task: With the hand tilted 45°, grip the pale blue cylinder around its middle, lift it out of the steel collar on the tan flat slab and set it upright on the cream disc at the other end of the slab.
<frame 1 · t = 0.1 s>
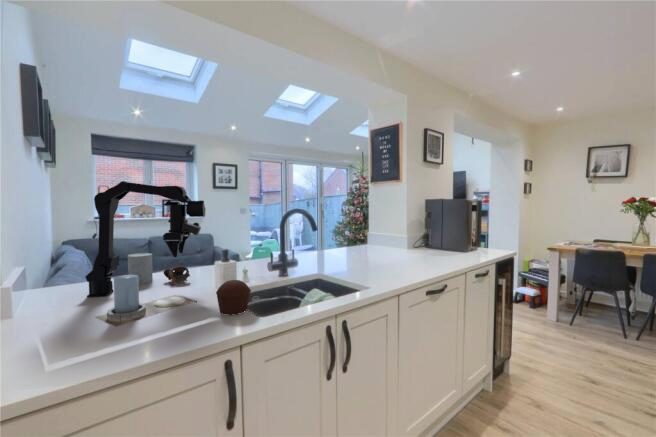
hand: (178, 255, 123), 15 cm above the counter, tool pointing down, fingers open, 9 cm apart
muffin: (233, 310, 102), on the counter
pottery mug: (176, 282, 137), on the counter
pale blue cylinder: (127, 315, 94), point 1 cm above the counter, touching tan flat slab
tall grey pillar block: (140, 281, 137), on the counter
tan flat slab: (149, 311, 101), on the counter
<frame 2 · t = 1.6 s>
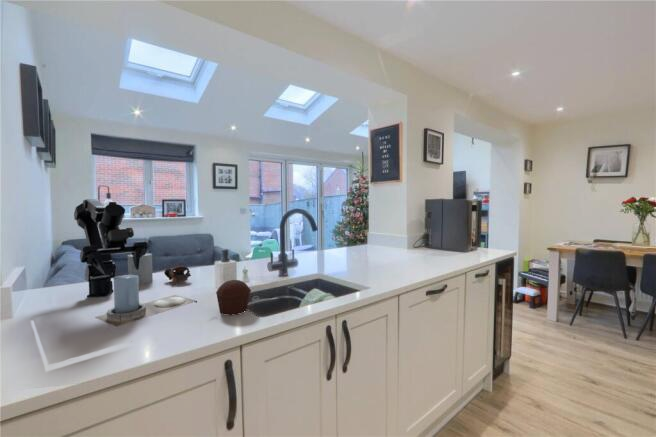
hand: (122, 271, 100), 13 cm above the counter, tool tilted 45°, fingers open, 9 cm apart
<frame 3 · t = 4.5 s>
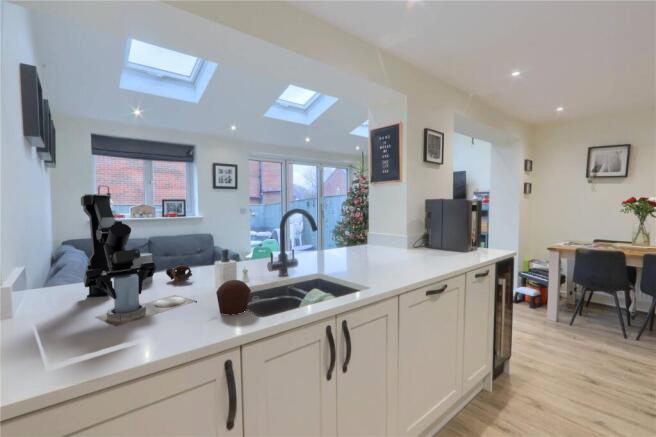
hand: (128, 296, 93), 7 cm above the counter, tool tilted 45°, fingers closed on pale blue cylinder, 6 cm apart
pale blue cylinder: (127, 315, 94), point 1 cm above the counter, touching gripper, tan flat slab
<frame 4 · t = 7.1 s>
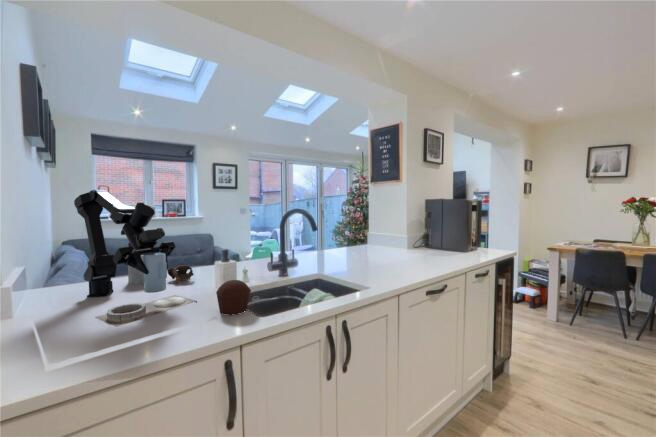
hand: (157, 271, 100), 13 cm above the counter, tool tilted 45°, fingers closed on pale blue cylinder, 6 cm apart
pale blue cylinder: (155, 289, 101), point 7 cm above the counter, touching gripper
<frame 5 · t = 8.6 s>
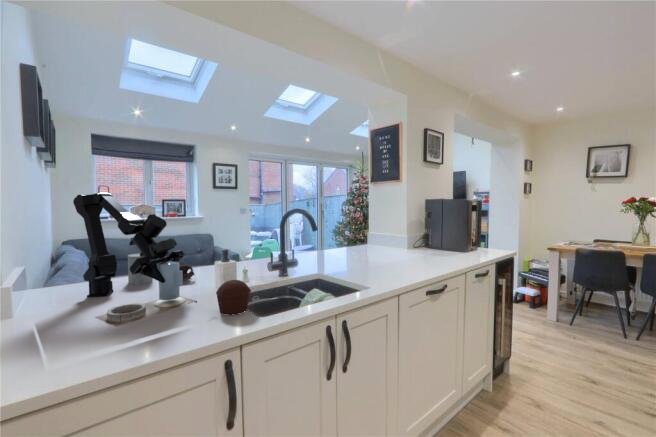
hand: (172, 279, 106), 9 cm above the counter, tool tilted 45°, fingers closed on pale blue cylinder, 6 cm apart
pale blue cylinder: (169, 297, 106), point 3 cm above the counter, touching gripper
when the fingers open (9 cm above the counter, at t = 9.6 s): pale blue cylinder drops 1 cm, resting on tan flat slab.
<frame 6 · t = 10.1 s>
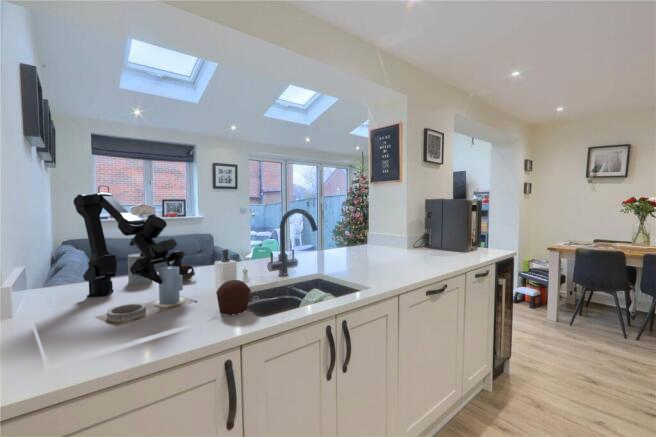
hand: (172, 280, 106), 9 cm above the counter, tool tilted 45°, fingers open, 9 cm apart
pale blue cylinder: (169, 301, 107), point 1 cm above the counter, touching tan flat slab
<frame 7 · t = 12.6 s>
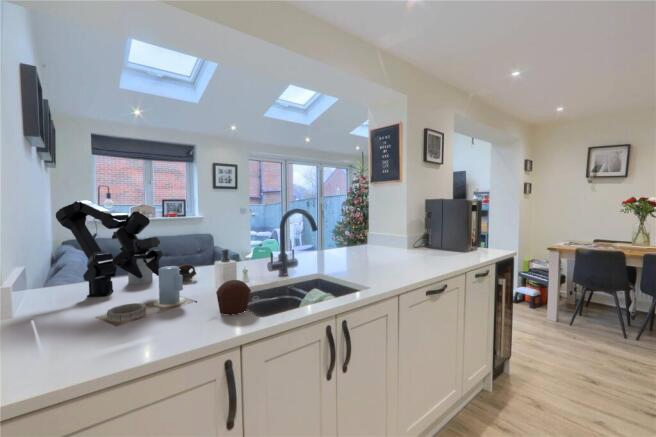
hand: (150, 276, 110), 9 cm above the counter, tool tilted 40°, fingers open, 9 cm apart
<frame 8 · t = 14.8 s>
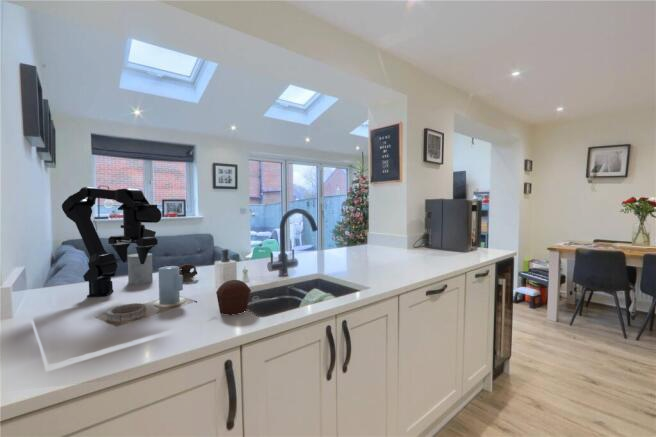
hand: (133, 263, 114), 13 cm above the counter, tool pointing down, fingers open, 9 cm apart
at the end: pale blue cylinder 0.1 cm from the target spot, point 1.3 cm above the counter; pale blue cylinder tilted 0°; the gripper is holding nothing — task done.
